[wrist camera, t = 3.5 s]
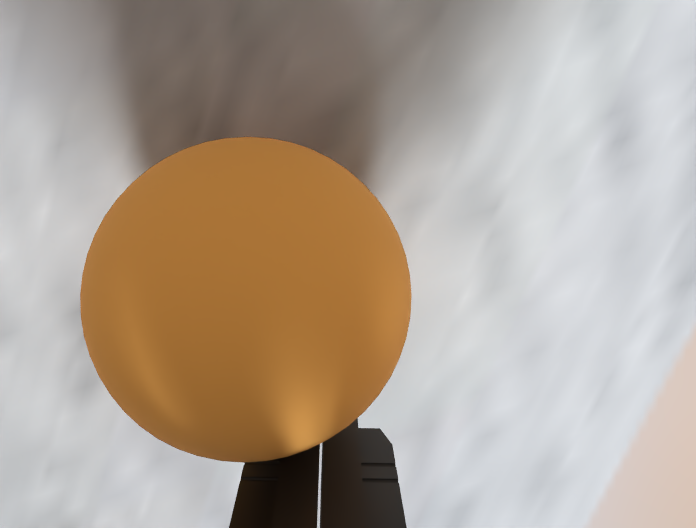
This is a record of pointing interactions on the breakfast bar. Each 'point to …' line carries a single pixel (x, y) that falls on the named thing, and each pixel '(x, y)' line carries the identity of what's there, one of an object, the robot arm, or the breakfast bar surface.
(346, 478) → the robot arm
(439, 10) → the breakfast bar surface
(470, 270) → the breakfast bar surface
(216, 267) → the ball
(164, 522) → the breakfast bar surface
